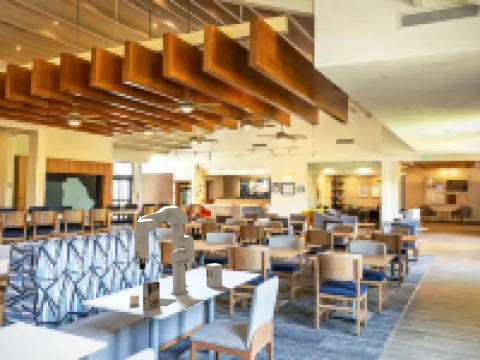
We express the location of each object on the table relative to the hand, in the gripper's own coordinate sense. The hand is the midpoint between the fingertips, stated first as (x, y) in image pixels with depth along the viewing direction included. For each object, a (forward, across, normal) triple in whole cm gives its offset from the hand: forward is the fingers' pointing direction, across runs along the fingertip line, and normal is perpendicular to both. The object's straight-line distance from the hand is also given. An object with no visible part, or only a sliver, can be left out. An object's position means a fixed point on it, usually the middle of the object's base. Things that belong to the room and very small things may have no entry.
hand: (142, 269), depth 257 cm
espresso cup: (+26, -13, -15) cm, 33 cm away
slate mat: (+26, -23, 0) cm, 35 cm away
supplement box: (+26, -76, +17) cm, 82 cm away
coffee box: (+27, -10, 0) cm, 29 cm away
